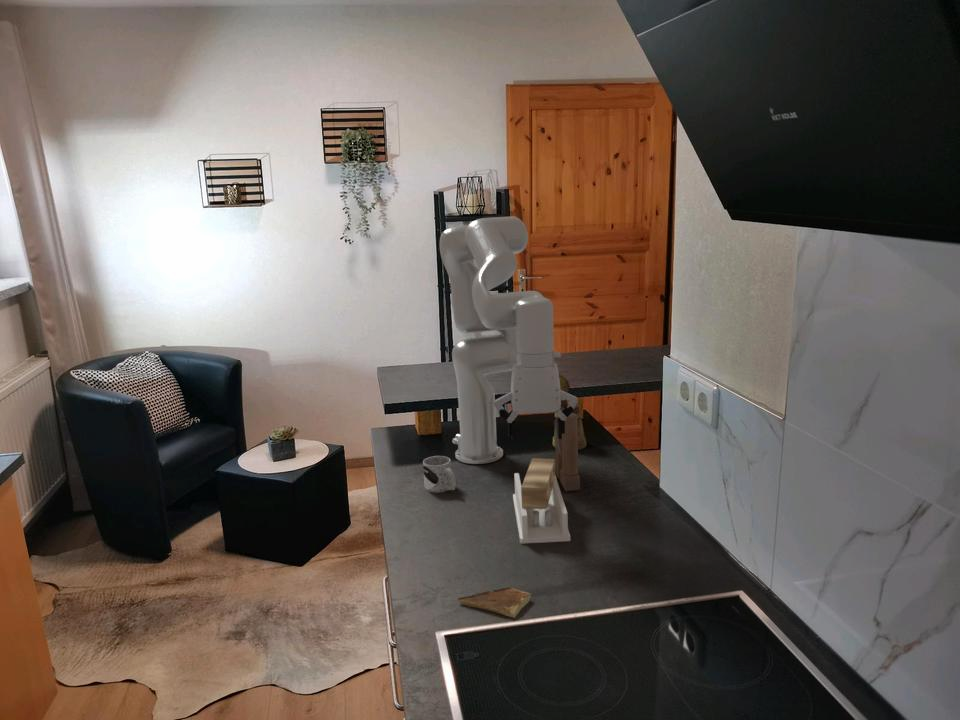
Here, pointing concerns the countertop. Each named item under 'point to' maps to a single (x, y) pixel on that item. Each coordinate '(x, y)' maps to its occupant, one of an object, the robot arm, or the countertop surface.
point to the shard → (499, 601)
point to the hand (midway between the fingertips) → (536, 437)
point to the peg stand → (541, 518)
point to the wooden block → (568, 455)
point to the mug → (438, 474)
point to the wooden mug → (566, 388)
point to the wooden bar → (538, 483)
